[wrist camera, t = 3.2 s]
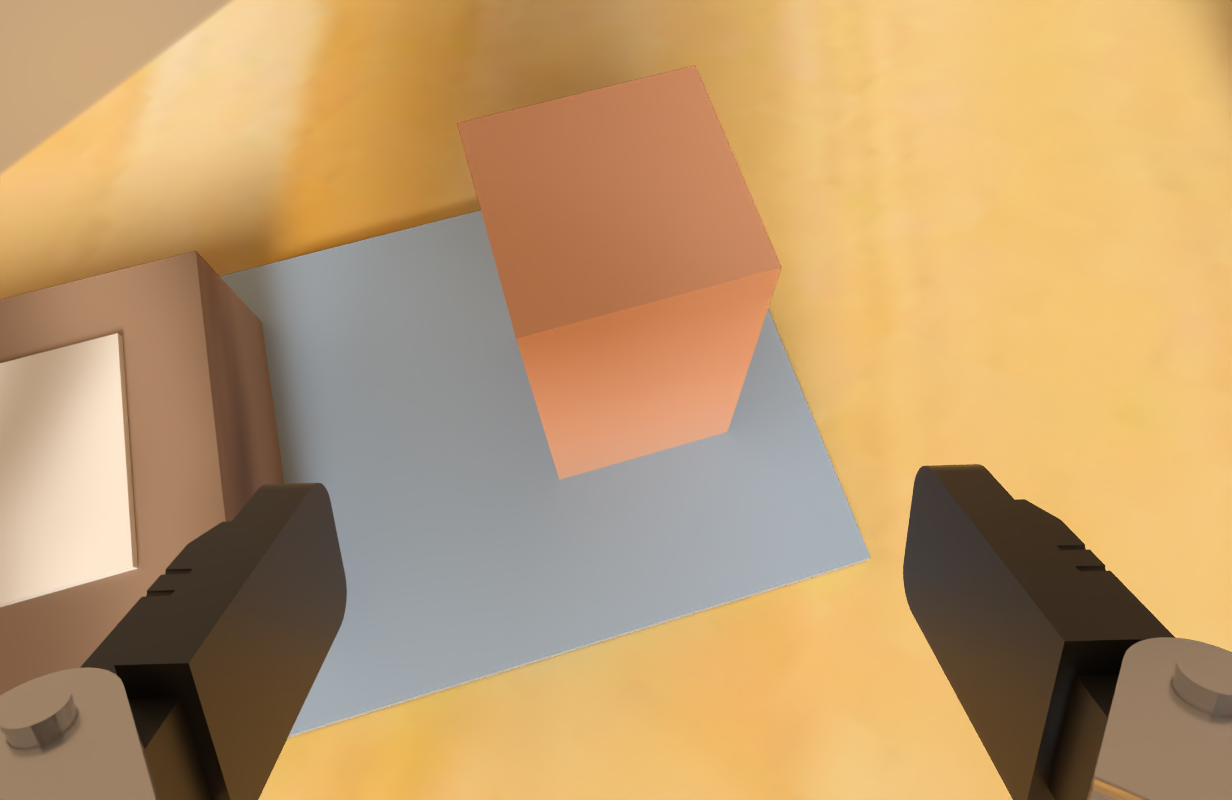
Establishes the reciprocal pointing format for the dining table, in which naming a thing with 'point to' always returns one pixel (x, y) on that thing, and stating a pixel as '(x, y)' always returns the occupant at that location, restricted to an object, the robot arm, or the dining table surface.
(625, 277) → the terracotta block
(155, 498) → the walnut foundation
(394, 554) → the board
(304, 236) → the dining table surface
